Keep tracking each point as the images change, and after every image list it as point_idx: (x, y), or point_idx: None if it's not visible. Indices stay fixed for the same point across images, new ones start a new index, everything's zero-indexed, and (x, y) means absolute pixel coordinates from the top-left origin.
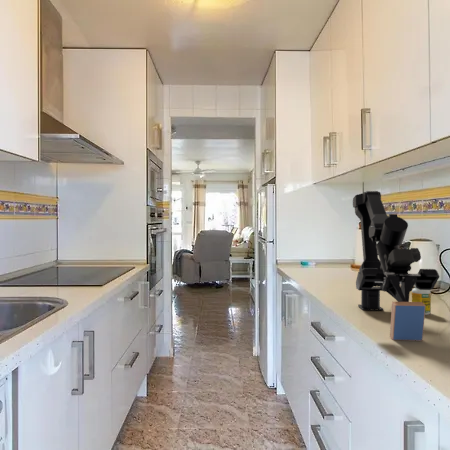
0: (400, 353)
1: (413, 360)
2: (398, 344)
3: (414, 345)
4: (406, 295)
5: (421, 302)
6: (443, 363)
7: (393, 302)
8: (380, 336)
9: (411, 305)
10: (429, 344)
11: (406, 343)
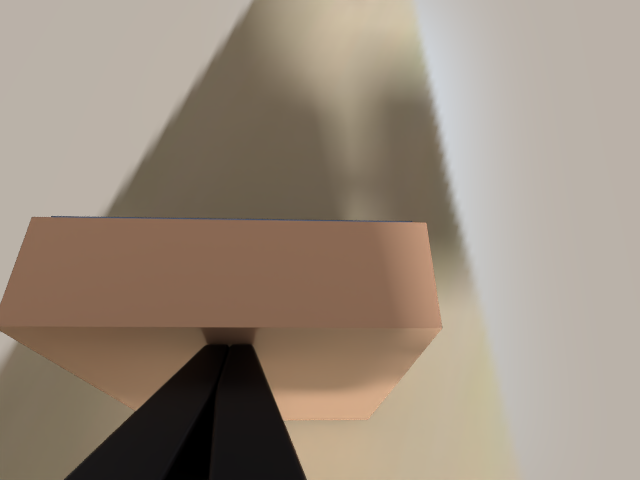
0: (395, 121)
1: (366, 42)
2: None
3: None
4: (157, 444)
5: (11, 313)
6: (249, 16)
7: (431, 292)
8: (426, 444)
9: (217, 223)
10: None
11: None
